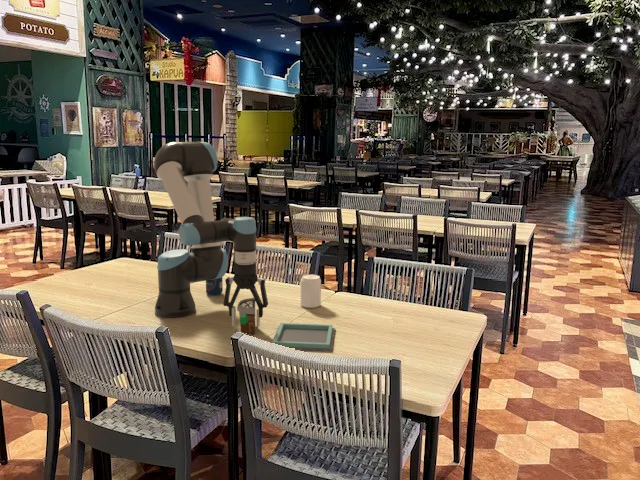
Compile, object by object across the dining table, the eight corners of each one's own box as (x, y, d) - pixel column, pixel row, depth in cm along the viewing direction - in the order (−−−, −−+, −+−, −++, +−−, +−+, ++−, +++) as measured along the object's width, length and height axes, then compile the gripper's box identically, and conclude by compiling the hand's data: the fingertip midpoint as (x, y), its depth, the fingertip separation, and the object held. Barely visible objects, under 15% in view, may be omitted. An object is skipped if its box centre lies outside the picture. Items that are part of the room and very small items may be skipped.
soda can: (202, 295, 239) (202, 267, 237) (212, 290, 246) (211, 264, 243) (217, 297, 237) (216, 269, 234) (225, 292, 243) (225, 265, 241)
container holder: (269, 348, 183) (269, 343, 183) (278, 327, 203) (278, 321, 202) (331, 351, 182) (331, 345, 181) (334, 329, 201) (334, 324, 201)
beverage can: (318, 309, 223) (318, 280, 220) (298, 307, 224) (298, 278, 222) (322, 303, 231) (322, 274, 228) (303, 301, 232) (303, 273, 230)
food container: (238, 324, 205) (237, 297, 203) (255, 324, 206) (255, 297, 204) (236, 336, 193) (235, 308, 191) (254, 336, 194) (254, 308, 192)
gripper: (212, 264, 192) (214, 328, 196) (273, 265, 190) (273, 330, 195) (218, 258, 199) (219, 320, 204) (276, 260, 198) (277, 322, 202)
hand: (246, 325), depth 199 cm, fingers open, 8 cm apart
